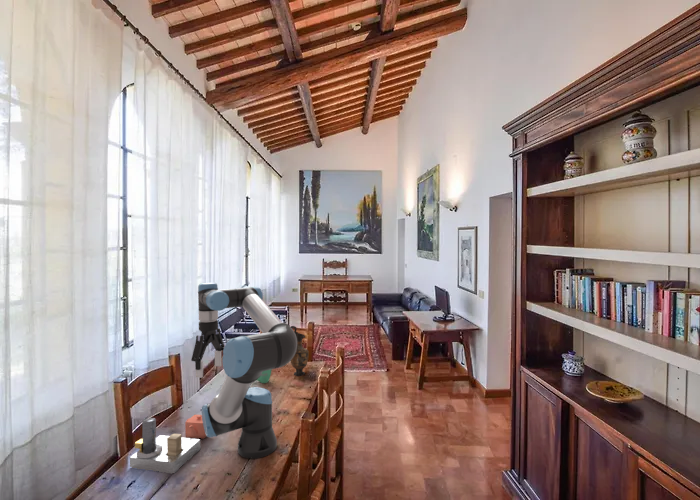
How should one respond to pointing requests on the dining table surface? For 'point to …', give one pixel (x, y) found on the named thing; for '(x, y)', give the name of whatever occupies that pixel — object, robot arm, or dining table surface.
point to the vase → (299, 355)
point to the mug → (265, 376)
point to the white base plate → (167, 462)
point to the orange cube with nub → (195, 427)
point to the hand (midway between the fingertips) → (209, 371)
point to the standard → (148, 440)
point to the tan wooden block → (174, 445)
